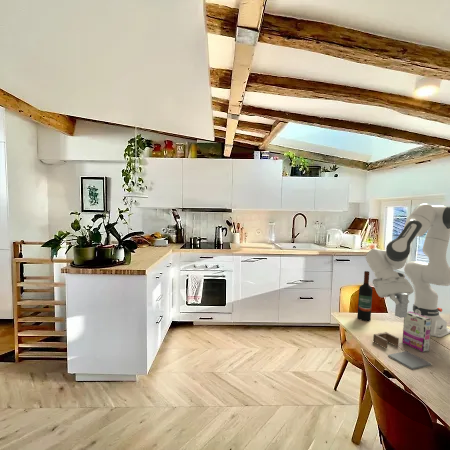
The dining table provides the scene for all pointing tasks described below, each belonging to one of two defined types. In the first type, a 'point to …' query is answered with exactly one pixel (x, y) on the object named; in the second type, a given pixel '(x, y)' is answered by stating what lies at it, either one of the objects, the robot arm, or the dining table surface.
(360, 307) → the wine bottle
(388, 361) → the dining table surface
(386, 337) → the holder
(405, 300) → the gray rectangular block
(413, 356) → the coaster
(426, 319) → the candy bar box
